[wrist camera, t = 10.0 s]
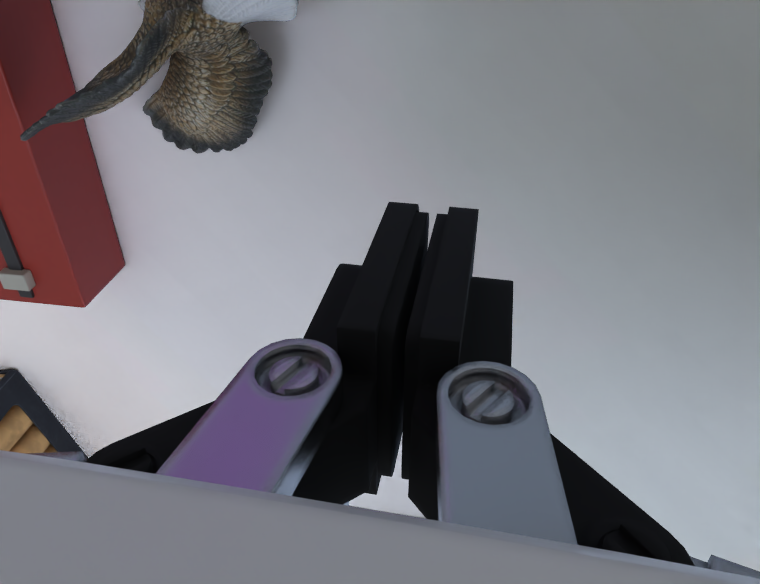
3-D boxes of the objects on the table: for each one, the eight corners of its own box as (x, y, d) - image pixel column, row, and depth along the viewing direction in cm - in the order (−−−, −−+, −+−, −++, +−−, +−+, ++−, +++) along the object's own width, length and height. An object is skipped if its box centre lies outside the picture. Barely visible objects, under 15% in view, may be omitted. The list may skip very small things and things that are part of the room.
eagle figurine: (60, -178, 18) (9, 106, 22) (77, -166, 13) (7, 200, 17) (289, -60, 22) (214, 158, 26) (368, -18, 17) (261, 245, 21)
